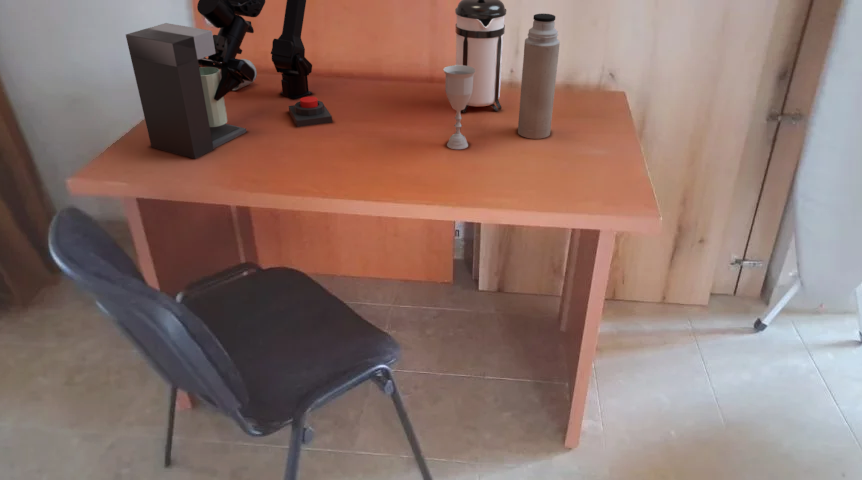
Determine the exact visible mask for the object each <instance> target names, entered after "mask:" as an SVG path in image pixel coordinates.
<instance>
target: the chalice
mask: <svg viewBox="0 0 862 480" xmlns="http://www.w3.org/2000/svg"><path fill="white" fill-rule="evenodd" d="M442 71H443V72H444V74H445V81H444V83H445V85H444V86H445V87H444V91H445V94H446V98H447V100H448V102H449V104H450V106H451V108H452V110H454V111H455V113H456V114H455V117H454V119H455V124H454V125H453V127H455V133H453V134H452V135H451V136H450V137H449V139H448V141H447V143H446V147H448V148H449V149H452V150H464V149H467V148H468V147H469V143H468V140H467V138H466V135H464V134H463V133H461V128H462V127H463V125H462V124H461V120H462V119H463V117H462V115H461V113H462V112H461V110H463V109H465V107H466V105H467V103H468V101H469V100H470V97H471V94H472V92H473V75H474V73H475V71H476V69H475V68H473V67H470V66H464V65H456V64H454V65H447V66H445V67H444V68H443V70H442Z"/></svg>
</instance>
